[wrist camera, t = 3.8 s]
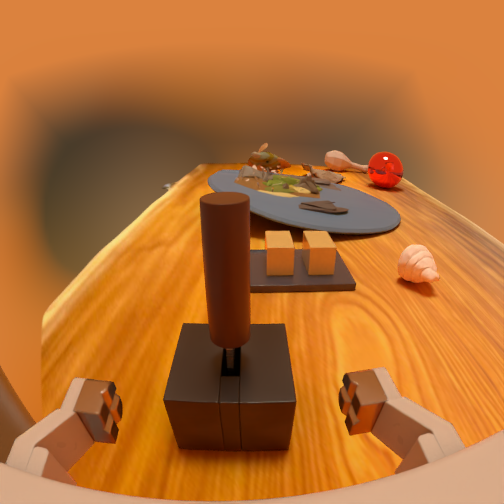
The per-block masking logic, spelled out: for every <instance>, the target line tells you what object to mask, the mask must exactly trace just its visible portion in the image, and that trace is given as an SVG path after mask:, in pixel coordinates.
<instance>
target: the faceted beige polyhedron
mask: <svg viewBox="0 0 504 504" xmlns="http://www.w3.org/2000/svg"><path fill="white" fill-rule="evenodd" d="M325 164H326V165H327V166H328V167H329V168H330V169H331V170H334V171H338V172H339V171H342V170H345V169H348V168H354V169H357V170H361V171H362V172H364V173H367V172H368V166H367V165H359V164H356V163H352V162H351V161H350V160H349V159H348V158H347V157H346V156H345V155H344V154H343V153H342V152H339V151H335V150H333V151H331V152H328V153H327V154H326V156H325Z"/></svg>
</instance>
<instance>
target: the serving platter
mask: <svg viewBox="0 0 504 504" xmlns="http://www.w3.org/2000/svg"><path fill="white" fill-rule="evenodd" d="M260 167H261V166H260ZM277 167H278V168H279V167H280V166H277ZM261 168H262V172H261V171H259V170H257V167H256V166H255V165H253V167H250V166H247V165H246V166H243V167H242V169H241V170H221V171H218V172H217V173H215V174H213V175H211V176H210V177H209V178H208V184H209V186H210V187H211V188H212V189H213V190H214V191H215V192H238V193H243V194H246V195H248V196H249V197H250V212H252V213H254V214H256V215H259V216H261V217H264V218H266V219H269V220H272V221H275V222H278V223H282V224H285V225H288V226H293V227H298V228H302V229H307V230H313V231H327V232H328V233H336V234H374V233H382V232H386V231H389V230H391V229H393V228H395V227H396V226H397V225H398V224H399V223H400V214H399V213H398V212H397V210H395V209H394V208H393V207H392V206H390V205H389V204H388V203H386V202H384V201H382V200H380V199H377V198H375V197H373V196H371V195H369V194H366V193H364V192H362V191H359V190H356V189H353V188H350V187H347V186H343V185H339V184H335V183H331V182H330V181H329V180H327V179H322V178H313V177H311V173H310V172H309V173H308V174H307V175H306V176H305V177H304V176H294V175H282V172H283V169H281V170H280V171H281V174H278V173H277V172H274V171H276V170H272V171H271V172H274V173H270V171H269V169H268V167H267V172H264V171H263V167H261ZM269 168H270V169H272V168H271V167H269ZM264 170H265V169H264ZM276 173H277V174H276Z"/></svg>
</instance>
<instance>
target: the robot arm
mask: <svg viewBox="0 0 504 504" xmlns="http://www.w3.org/2000/svg"><path fill="white" fill-rule="evenodd" d="M342 381H343V383H344V386H343V387H342V388H341V389H340V392H339V406H340V409H341V412H342V413H343V414H344V415H346V416H347V417H346V420H345V424H346V426H347V429H348V432H349V435H356V434H361V433H367V432H371V433H372V434H373V435H374V436H376V437H377V438H378V439H379V440H380V441H381V442H383V443H384V444H385V445H386V446H387V447H389V448H390V449H391V450H392V451H394V452H395V453H396V454H397V455H398V456H400V457H401V458H402V459H403V461H402V462H401V463H400V465H399V466H398V468H397V469H396V471H395V475H391V476H388V477H385V478H381V479H377V480H374V481H370V482H366V483H362V484H358V485H353V486H349V487H344V488H339V489H334V490H329V491H324V492H318V493H312V494H305V495H298V496H291V497H282V498H272V499H260V500H244V501H182V500H166V499H154V498H144V497H136V496H128V495H121V494H115V493H109V492H103V491H98V490H93V489H88V488H84V487H79V486H76V484H77V483H76V482H75V480H74V479H73V478H72V477H71V476H70V475H69V474H68V473H67V471H68V470H69V469H70V468H71V467H72V466H73V465H74V464H75V463H76V462H77V461H78V460H79V459H80V458H81V457H82V456H83V455H84V454H85V452H86V451H87V450H88V449H89V448H90V447H91V446H92V445H93V444H94V443H95V442H103V443H112V444H115V443H116V439H117V435H118V431H119V429H118V427H117V425H116V424H117V423H118V422H119V421H121V418H122V401H121V399H120V396H118V395H117V394H116V393H115V391H116V387H115V384H114V382H111V381H102V380H94V379H84V378H77V377H75V378H74V379H73V380H72V382H71V385H70V387H69V389H68V392H67V394H66V396H65V399H64V401H63V403H62V406H61V408H60V409H56V410H55V411H53V412H52V413H51V414H49V415H48V416H46V417H45V418H44V419H42V420H41V421H40V422H38V423H37V424H35V425H34V426H33V427H31V428H30V429H29V430H27V431H26V432H25V433H23V434H22V435H20V436H19V437H18V438H16V439H15V442H14V444H13V447H12V449H11V452H10V454H9V456H8V459H7V462H6V464H3V463H1V462H0V504H504V429H503V430H501V431H499V432H497V433H496V434H494V435H492V436H490V437H488V438H486V439H484V440H482V441H480V442H477V443H475V444H473V445H471V446H469V447H467V448H465V446H464V444H463V442H462V441H461V439H460V437H459V435H458V433H457V432H456V430H455V428H454V426H453V425H452V424H451V423H450V422H448V421H446V420H444V419H442V418H441V417H439V416H437V415H436V414H434V413H432V412H430V411H429V410H427V409H425V408H423V407H422V406H420V405H418V404H417V403H415V402H413V401H412V400H410V399H408V398H406V397H401V395H400V393H399V391H398V389H397V388H396V386H395V384H394V382H393V380H392V379H391V377H390V375H389V373H388V371H387V370H386V368H384V367H380V368H375V369H368V370H362V371H356V372H350V373H345V375H344V377H343V380H342ZM94 441H95V442H94Z"/></svg>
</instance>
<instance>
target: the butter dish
mask: <svg viewBox="0 0 504 504" xmlns="http://www.w3.org/2000/svg"><path fill="white" fill-rule="evenodd" d="M355 287H356V283H355V281H354V279H353V277H352V276H351V274H350V272H349V270H348V269H347V267H346V265H345V263H344V262H343V260H342V258H341V257H340V255H339V253H338V251H337V247H336V245H335V244H334V242H333V240H332V239H331V237H330V236H329V234H328V232H327V231H303V244H302V249H295V247H294V244H293V241H292V237H291V234H290V231H265V250H250V292H299V291H338V290H355Z"/></svg>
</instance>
